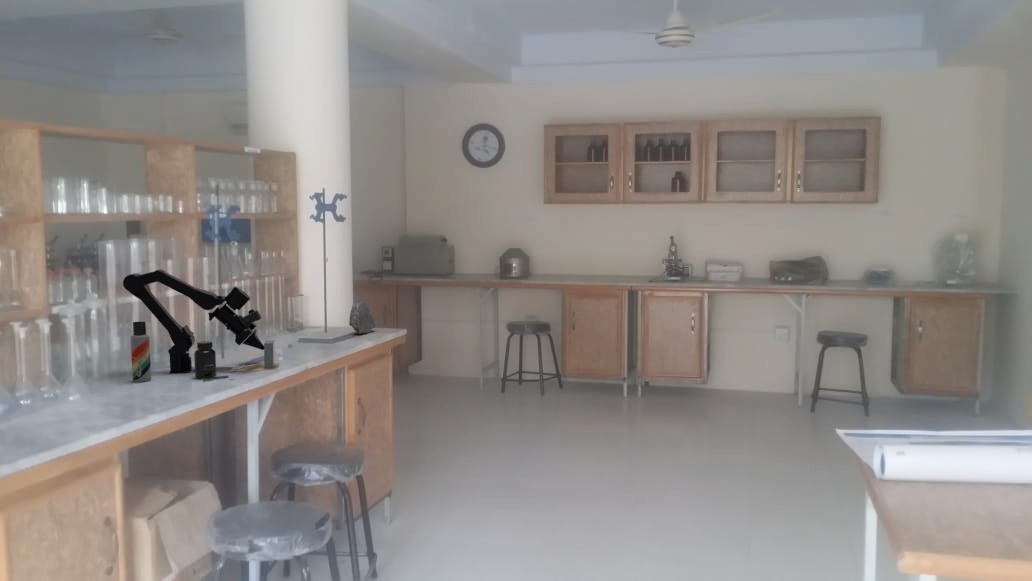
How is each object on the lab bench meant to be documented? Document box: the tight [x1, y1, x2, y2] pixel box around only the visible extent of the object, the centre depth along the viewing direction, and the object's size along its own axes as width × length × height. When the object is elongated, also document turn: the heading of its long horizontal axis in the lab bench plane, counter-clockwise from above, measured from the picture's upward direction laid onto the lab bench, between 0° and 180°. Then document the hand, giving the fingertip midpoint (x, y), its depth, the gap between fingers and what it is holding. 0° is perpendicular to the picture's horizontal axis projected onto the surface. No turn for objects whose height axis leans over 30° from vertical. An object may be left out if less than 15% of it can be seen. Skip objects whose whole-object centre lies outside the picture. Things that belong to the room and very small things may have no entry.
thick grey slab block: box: [263, 339, 276, 368], centre depth 295 cm, size 3×7×9 cm, turn 12°
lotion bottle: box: [130, 321, 152, 383], centre depth 273 cm, size 6×6×20 cm
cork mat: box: [229, 362, 280, 373], centre depth 294 cm, size 16×12×1 cm
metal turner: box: [202, 375, 235, 383], centre depth 277 cm, size 15×6×1 cm, turn 123°
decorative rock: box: [348, 300, 376, 334], centre depth 374 cm, size 16×7×15 cm, turn 157°
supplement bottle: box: [193, 340, 217, 380], centre depth 279 cm, size 7×7×12 cm
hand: (264, 348), depth 294 cm, fingers closed
